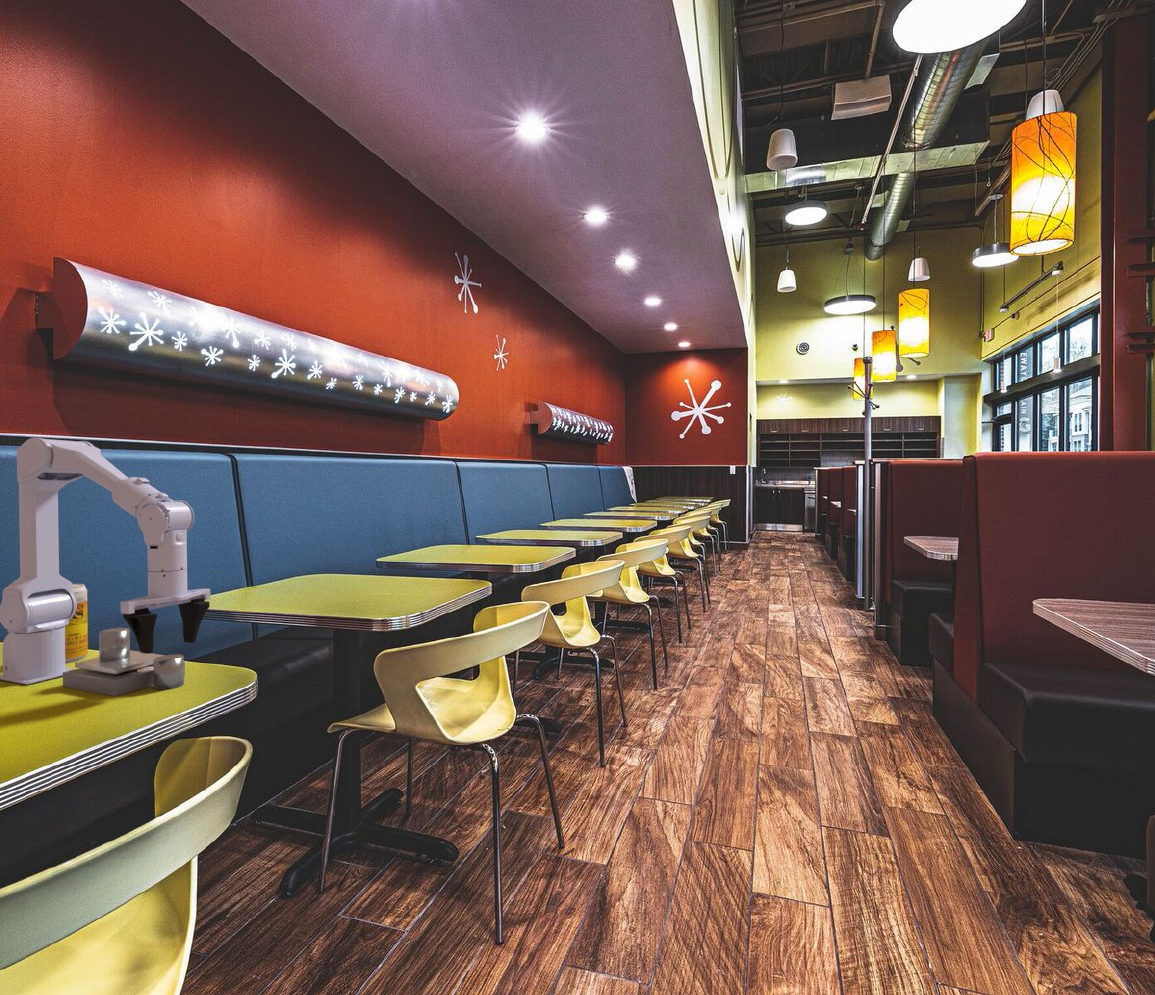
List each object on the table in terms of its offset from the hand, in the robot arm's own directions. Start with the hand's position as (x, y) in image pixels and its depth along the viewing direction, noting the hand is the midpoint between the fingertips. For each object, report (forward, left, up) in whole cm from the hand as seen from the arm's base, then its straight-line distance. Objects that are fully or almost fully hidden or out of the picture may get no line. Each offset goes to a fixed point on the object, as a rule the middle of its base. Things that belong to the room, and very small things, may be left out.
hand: (168, 647), depth 106 cm
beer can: (-36, +4, -7) cm, 36 cm away
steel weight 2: (0, 0, -7) cm, 7 cm away
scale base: (-10, -1, -7) cm, 12 cm away
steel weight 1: (-13, -1, -3) cm, 13 cm away
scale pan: (-11, -1, -4) cm, 11 cm away
